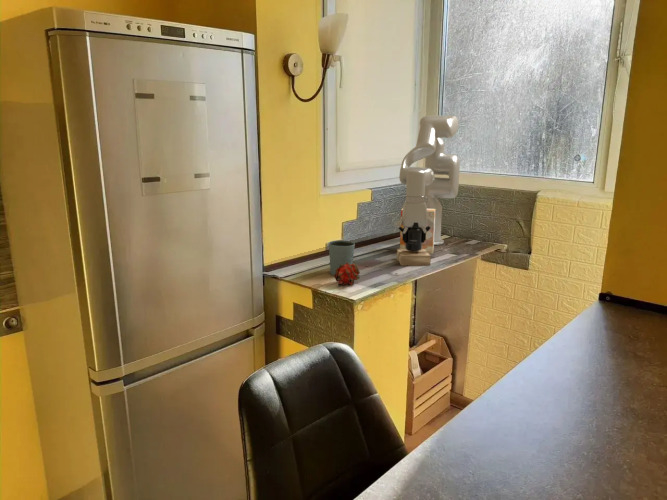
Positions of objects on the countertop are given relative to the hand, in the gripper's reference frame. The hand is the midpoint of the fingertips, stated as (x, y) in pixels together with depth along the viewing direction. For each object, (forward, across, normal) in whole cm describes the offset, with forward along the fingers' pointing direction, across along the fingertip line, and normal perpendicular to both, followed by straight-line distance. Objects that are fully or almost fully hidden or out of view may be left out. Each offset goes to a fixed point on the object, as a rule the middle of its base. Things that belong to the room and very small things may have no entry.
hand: (413, 241), depth 218 cm
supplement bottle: (+4, 0, 0) cm, 4 cm away
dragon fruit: (+9, +30, +30) cm, 43 cm away
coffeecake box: (+9, -5, -18) cm, 20 cm away
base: (+9, 0, 0) cm, 9 cm away
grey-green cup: (+9, +31, +15) cm, 36 cm away
